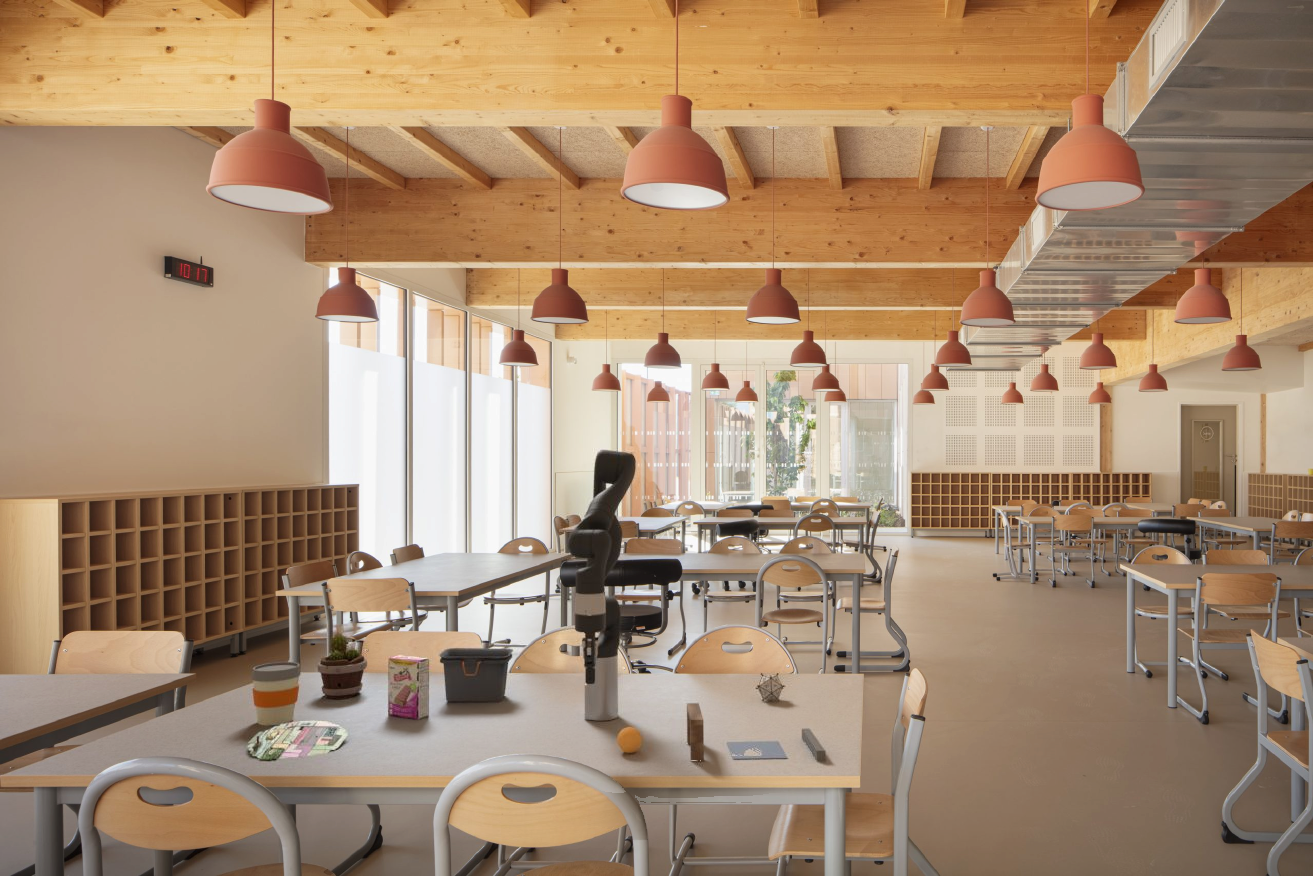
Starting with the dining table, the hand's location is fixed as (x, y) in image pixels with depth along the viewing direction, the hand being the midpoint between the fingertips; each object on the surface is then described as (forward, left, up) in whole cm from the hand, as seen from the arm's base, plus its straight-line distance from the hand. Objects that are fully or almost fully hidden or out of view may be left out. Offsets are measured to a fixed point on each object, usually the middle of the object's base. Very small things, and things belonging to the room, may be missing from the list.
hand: (590, 682), depth 210 cm
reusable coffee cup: (-90, +33, -17) cm, 97 cm away
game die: (+51, +47, -17) cm, 72 cm away
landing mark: (+40, 0, -17) cm, 44 cm away
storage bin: (-38, +53, -17) cm, 67 cm away
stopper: (+54, 0, -17) cm, 57 cm away
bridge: (+25, 0, -17) cm, 31 cm away
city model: (-75, +9, -18) cm, 77 cm away
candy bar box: (-54, +36, -17) cm, 67 cm away
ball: (+9, 0, -14) cm, 17 cm away
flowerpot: (-81, +61, -17) cm, 102 cm away
